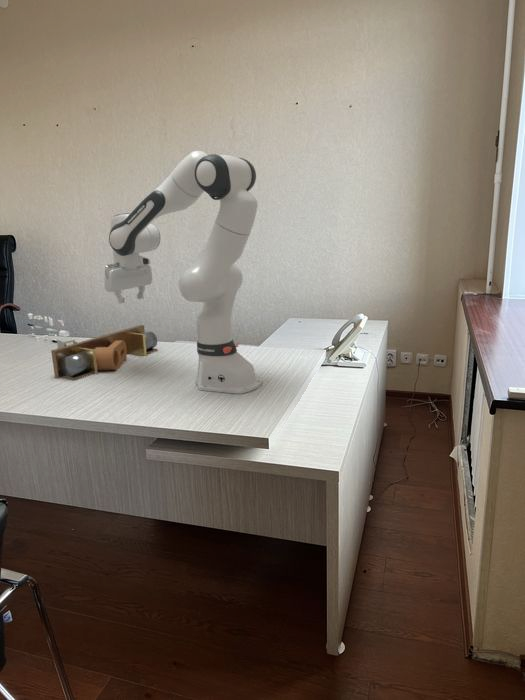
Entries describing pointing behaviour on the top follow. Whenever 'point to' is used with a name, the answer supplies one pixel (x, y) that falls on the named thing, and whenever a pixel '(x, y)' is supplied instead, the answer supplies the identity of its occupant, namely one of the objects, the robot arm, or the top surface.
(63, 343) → the electrical component
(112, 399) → the top surface
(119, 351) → the tan piece
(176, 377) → the top surface
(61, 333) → the plumbing parts
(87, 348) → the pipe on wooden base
